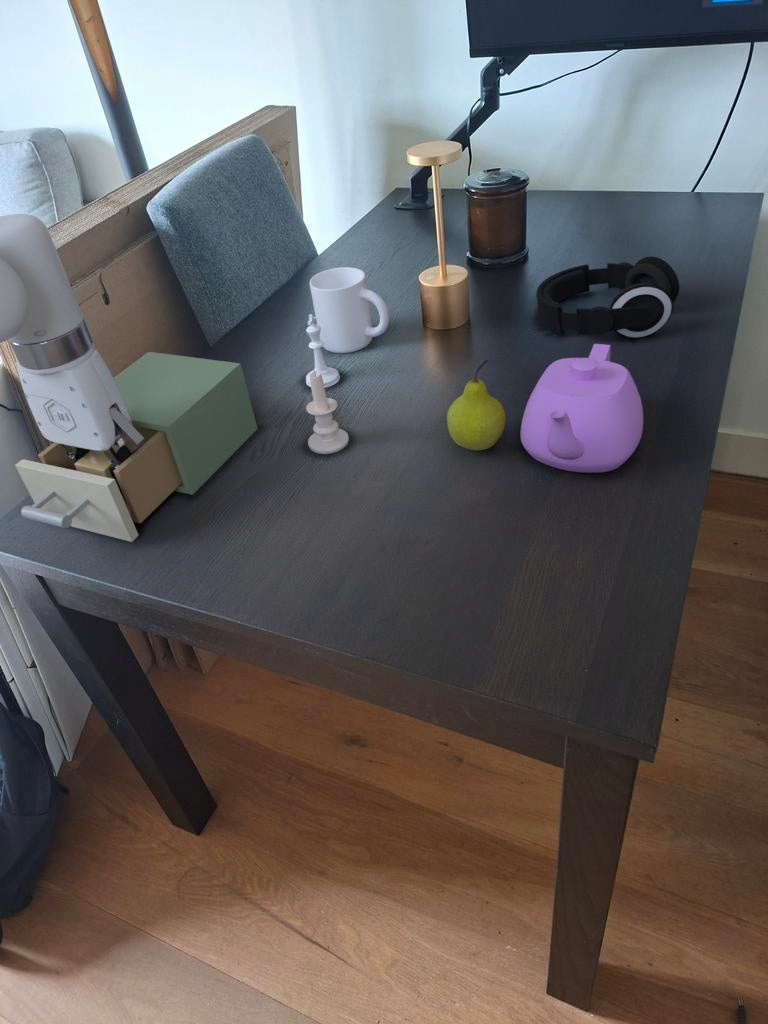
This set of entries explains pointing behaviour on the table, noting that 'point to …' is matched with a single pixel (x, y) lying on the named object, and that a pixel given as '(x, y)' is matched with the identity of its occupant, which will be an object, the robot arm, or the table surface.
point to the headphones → (631, 309)
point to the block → (95, 463)
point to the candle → (324, 420)
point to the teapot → (583, 414)
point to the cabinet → (190, 410)
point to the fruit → (476, 417)
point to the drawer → (101, 488)
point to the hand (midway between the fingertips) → (113, 483)
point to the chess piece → (320, 356)
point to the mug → (346, 309)
